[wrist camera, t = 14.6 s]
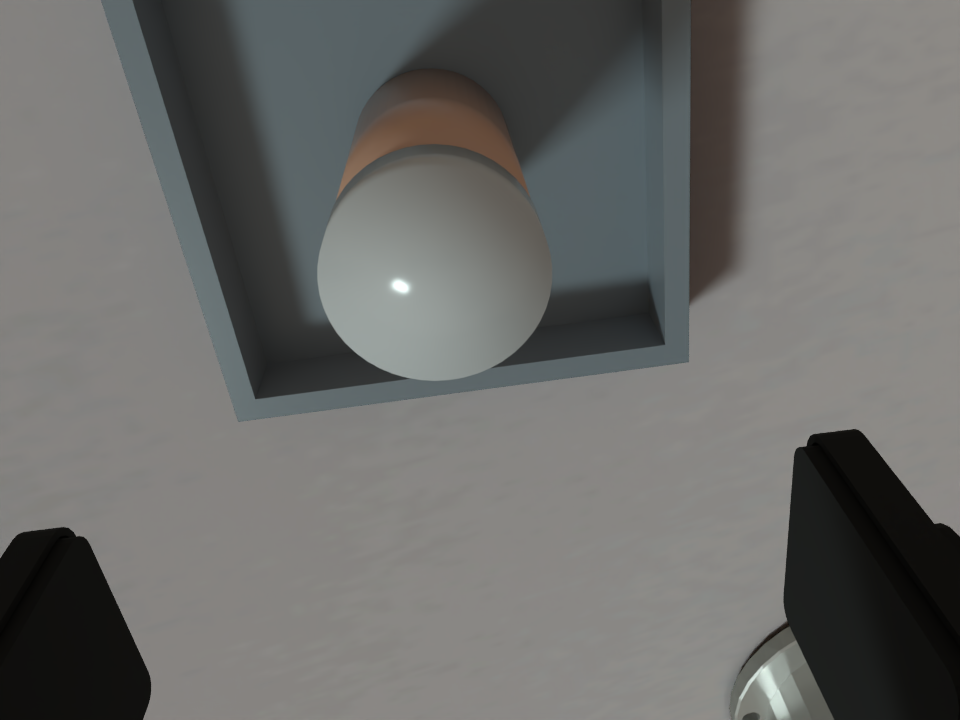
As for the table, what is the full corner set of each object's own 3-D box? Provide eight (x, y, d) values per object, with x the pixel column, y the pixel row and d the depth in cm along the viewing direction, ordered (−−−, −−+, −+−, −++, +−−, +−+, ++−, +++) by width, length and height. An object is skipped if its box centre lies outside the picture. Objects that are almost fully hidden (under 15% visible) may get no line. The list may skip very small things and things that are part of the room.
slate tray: (662, -170, 23) (691, -177, 21) (666, 321, 31) (688, 362, 28) (111, -92, 23) (72, -89, 21) (253, 376, 31) (238, 421, 29)
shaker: (504, 57, 25) (545, 153, 17) (517, 215, 28) (558, 367, 19) (338, 76, 25) (294, 181, 17) (366, 232, 28) (340, 392, 19)
